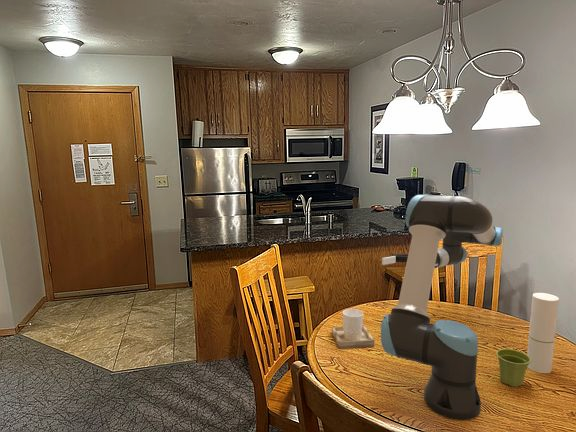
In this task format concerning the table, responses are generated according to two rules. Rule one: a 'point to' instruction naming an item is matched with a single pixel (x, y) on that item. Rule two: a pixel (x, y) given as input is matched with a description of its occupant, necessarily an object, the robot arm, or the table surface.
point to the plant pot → (512, 366)
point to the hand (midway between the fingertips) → (393, 265)
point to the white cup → (352, 324)
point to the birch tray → (363, 342)
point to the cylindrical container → (542, 331)
